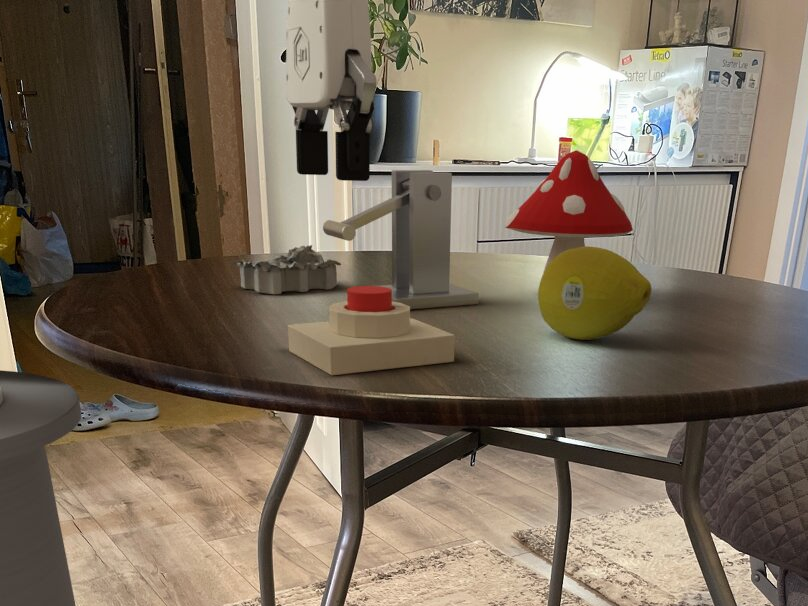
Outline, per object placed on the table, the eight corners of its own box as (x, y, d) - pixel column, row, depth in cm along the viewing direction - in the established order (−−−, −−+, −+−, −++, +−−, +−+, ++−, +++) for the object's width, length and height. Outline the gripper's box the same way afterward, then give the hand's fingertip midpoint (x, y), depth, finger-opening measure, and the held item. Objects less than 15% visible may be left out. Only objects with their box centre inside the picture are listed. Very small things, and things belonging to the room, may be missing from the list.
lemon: (514, 334, 85) (519, 243, 81) (567, 324, 90) (574, 238, 86) (607, 356, 78) (617, 258, 74) (659, 344, 83) (671, 251, 79)
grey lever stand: (395, 310, 94) (395, 174, 88) (362, 298, 100) (360, 169, 94) (478, 304, 98) (483, 173, 92) (442, 292, 104) (444, 169, 98)
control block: (331, 375, 70) (329, 322, 68) (288, 351, 77) (285, 302, 75) (454, 362, 75) (455, 312, 73) (404, 340, 82) (404, 293, 80)
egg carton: (315, 280, 110) (314, 244, 108) (346, 289, 105) (345, 251, 103) (232, 286, 104) (230, 248, 102) (260, 296, 99) (258, 256, 97)
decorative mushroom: (499, 303, 99) (507, 150, 92) (503, 283, 111) (510, 146, 104) (630, 309, 98) (648, 154, 91) (619, 288, 110) (634, 150, 103)
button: (359, 317, 72) (358, 294, 71) (340, 309, 75) (340, 287, 74) (399, 314, 74) (399, 291, 73) (380, 306, 76) (379, 284, 76)
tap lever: (347, 248, 90) (338, 223, 89) (327, 242, 94) (318, 218, 92) (447, 199, 93) (440, 175, 92) (424, 195, 97) (417, 172, 95)
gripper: (255, -29, 86) (264, 171, 94) (328, -53, 73) (331, 182, 80) (329, -19, 89) (332, 173, 97) (411, -41, 76) (407, 183, 84)
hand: (332, 177), depth 89 cm, fingers open, 9 cm apart
